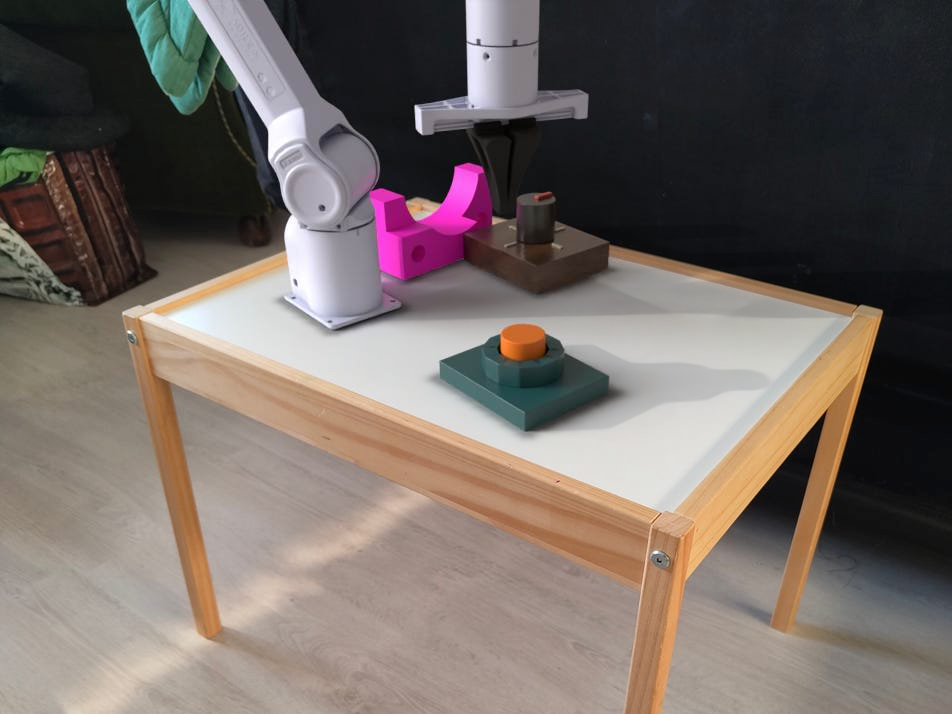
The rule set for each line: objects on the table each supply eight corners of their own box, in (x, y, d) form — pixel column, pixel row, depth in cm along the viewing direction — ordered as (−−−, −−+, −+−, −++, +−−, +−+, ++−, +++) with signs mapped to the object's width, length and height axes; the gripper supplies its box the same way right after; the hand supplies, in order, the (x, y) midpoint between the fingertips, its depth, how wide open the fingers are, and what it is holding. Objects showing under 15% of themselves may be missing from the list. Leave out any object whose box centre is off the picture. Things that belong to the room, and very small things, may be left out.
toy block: (404, 280, 92) (399, 208, 88) (367, 264, 96) (360, 194, 92) (507, 242, 100) (507, 174, 96) (470, 228, 104) (468, 162, 100)
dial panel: (463, 260, 97) (462, 231, 95) (533, 238, 102) (533, 210, 100) (536, 295, 89) (537, 264, 87) (608, 269, 94) (610, 240, 92)
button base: (439, 378, 76) (437, 341, 74) (520, 346, 80) (521, 310, 78) (524, 432, 69) (525, 392, 66) (608, 394, 73) (611, 355, 71)
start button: (491, 351, 73) (491, 332, 72) (525, 338, 75) (525, 319, 74) (520, 367, 70) (520, 347, 69) (554, 354, 72) (555, 334, 71)
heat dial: (533, 246, 91) (534, 205, 89) (508, 236, 94) (508, 195, 92) (562, 237, 93) (563, 196, 91) (537, 227, 96) (538, 187, 94)
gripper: (567, 26, 76) (561, 187, 84) (401, 39, 72) (411, 205, 80) (602, 40, 70) (592, 211, 78) (424, 54, 67) (433, 232, 75)
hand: (502, 210), depth 79 cm, fingers closed
